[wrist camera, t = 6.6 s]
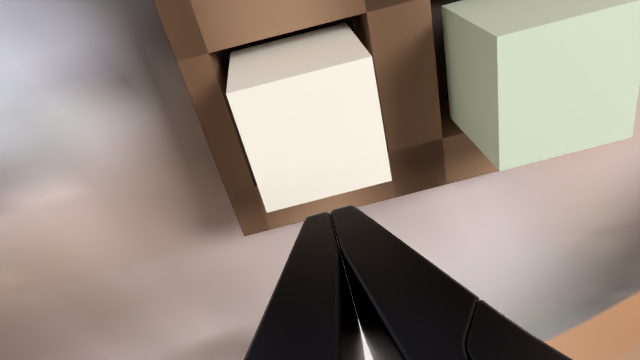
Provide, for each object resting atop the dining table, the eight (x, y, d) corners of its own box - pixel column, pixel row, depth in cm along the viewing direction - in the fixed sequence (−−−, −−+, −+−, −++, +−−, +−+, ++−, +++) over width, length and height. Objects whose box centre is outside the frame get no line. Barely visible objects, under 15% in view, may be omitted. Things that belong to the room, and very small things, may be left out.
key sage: (562, -26, 15) (652, -4, 12) (556, 89, 17) (632, 136, 14) (441, 5, 15) (496, 36, 12) (450, 117, 17) (499, 171, 14)
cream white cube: (345, 22, 16) (371, 56, 13) (364, 127, 18) (392, 180, 15) (230, 52, 16) (225, 93, 13) (263, 153, 18) (266, 212, 15)
